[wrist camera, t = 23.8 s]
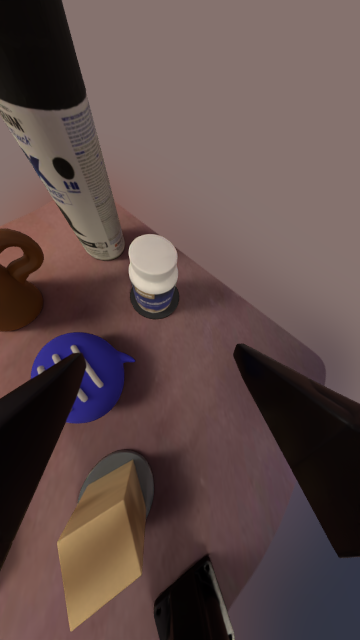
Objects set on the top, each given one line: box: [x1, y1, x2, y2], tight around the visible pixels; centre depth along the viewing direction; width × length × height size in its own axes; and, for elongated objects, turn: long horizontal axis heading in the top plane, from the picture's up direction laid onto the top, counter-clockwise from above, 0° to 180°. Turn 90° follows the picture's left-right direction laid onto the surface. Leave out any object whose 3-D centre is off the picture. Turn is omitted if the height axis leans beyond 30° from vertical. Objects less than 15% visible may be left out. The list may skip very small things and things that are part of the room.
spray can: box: [0, 0, 125, 261], centre depth 15 cm, size 7×7×20 cm
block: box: [57, 460, 146, 631], centre depth 13 cm, size 5×5×5 cm
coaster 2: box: [130, 286, 179, 319], centre depth 23 cm, size 8×8×1 cm
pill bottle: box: [129, 234, 178, 313], centre depth 18 cm, size 6×6×10 cm
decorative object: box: [31, 332, 135, 423], centre depth 16 cm, size 10×6×10 cm
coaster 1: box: [78, 450, 154, 520], centre depth 15 cm, size 8×8×1 cm
